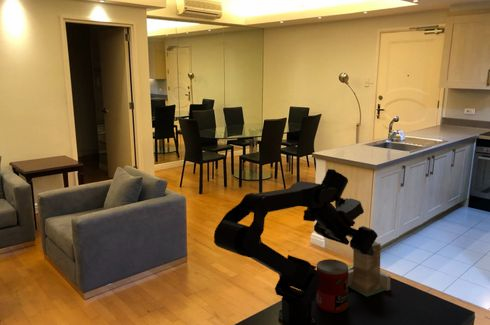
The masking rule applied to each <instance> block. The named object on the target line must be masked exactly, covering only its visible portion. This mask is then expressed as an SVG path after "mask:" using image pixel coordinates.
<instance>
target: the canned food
mask: <svg viewBox="0 0 490 325" xmlns="http://www.w3.org/2000/svg"><path fill="white" fill-rule="evenodd" d="M316 270H317V271H318V273H319V275H318V276H319V286H318V291H317V296H316V302H317V305H318V307H319V308H320V309H321V310H323V311H324V312H327V313H332V314H335V313H336V314H339V313H342V312H344V311H346V310H347V308H348V307H349V286H348V271H349V266H348V264H347V263H345V262H344V261H342V260H338V259H331V258H329V259H322V260H319V261H318V262H317V263H316Z"/></svg>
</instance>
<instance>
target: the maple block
mask: <svg viewBox="0 0 490 325" xmlns="http://www.w3.org/2000/svg"><path fill="white" fill-rule="evenodd" d="M372 247H373V250H374V254H373V256H370V255H366V254H364V255H363V254H360V253H358V252H356V251H354V250H353V249H352V251H353V254H352V255H353V256H352V258H353V260H352V263H353V265H352V267H353V268H352V269H353V286H354V287H356V288H357V289H359V290H361V291H363V292H365V293H369V292H372V291H375V290H377V289H380V271H381V249H382V247H381V243H379V242H376V240H375V241H374V243H373V244H372Z"/></svg>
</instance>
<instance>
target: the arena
mask: <svg viewBox="0 0 490 325" xmlns="http://www.w3.org/2000/svg"><path fill="white" fill-rule="evenodd" d="M348 288H351V289H352V290H354V291H356V292H358V293H359V294H361V295H363V296H365V297H367V298H368V297H370V296H372V295H376V294H378V293H381V292H384V291H390V290H391V275H389V274H387V273H385V272H382V271H381V270H380V289H377V290H375V291H372V292H369V293H365V292H363V291H361V290H359V289H357V288H356V287H354V286H353V268H351V269H348Z"/></svg>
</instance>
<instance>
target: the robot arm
mask: <svg viewBox="0 0 490 325" xmlns="http://www.w3.org/2000/svg"><path fill="white" fill-rule="evenodd" d="M348 183H349V179H348V177H347V176H345V175H344V174H342V173H340V172H337V171H336V169H332V168H328V169H327V170H326V173H325V174H324V177H323V179H322V181H321V183H316V182H310V181H303V180H301V181H298V182H294V183H292V184H291V186H290V187H288V188H284V189H276V190H269V191H263V192H256V193H255V192H250V193H247V194H245V195H244V196H243V198H242V199H241V201H240V202H239V203H238V204H237V205H235V206H234V207H232V208H231V209H230V210H228V211H227V212H226V213H225V214H224V216H223V218H222V219H221V220H220V221H219V223H218V224H217V226H216V228H215V229H214V235H213V239H214V240H213V243H214V245H215V246H216V247H218V248H220V249H223V250H226V251H228V252H231V253H234V254H236V255H240V256H242V257H245V258H250V259H251V260H253V261H256V262H257V263H259V264H261V265H262V266H264V267H266V268H267V269H270V270H271V271H273V272H274V273H276V274H278V277H279V279H278V281H277V283H276V285H275V287H274V291H275V294H276V295H277V296H280V297H281V314H280V315H278V320H280V321H281V322H282V323H283V324H285V325H312V323H313V324H315V323H316V322H315V319H314V318H312V316H313V312H312V311H313V308H312V306H313V303H312V302H314V301H315V300H317V291H318V286H319V276H318V275H319V273H318V271H317V265H316V266H315V265H313V264H311V263H310V262H309V261H308V260H305V259H302V258H299V257H296V256H293V255H290V254H288V255H287V256H284V255H283V254H281V253H280V252H278V251H276V250H275V249H273V248H272V247H270V246H269V245H267V244H266V243H264V242H263V241H262V234H263V233H264V230H265V219H266V216H267V215H268V213H272V212H276V211H277V212H278V211H282V210H287V209H291V208H296V207H303V208H306V209H304V210H303V216H302V217H303V221H306V222H315V224H314V225H313V231H314V232H315V233H316V234H317V235H319V236H321V237H323V238H325V239H328V240H330V241H333V242H337V243H340V244H342V245H346V246H348V245H349V247H350V248H351V249H352V251H353V250H354V251H356V252H358V253H360V254H363V255H364V254H366V255H370V256H373V254H374V250H373V247H372V244H373V243H374V241H375V242H376V240H377V238H378V236H379V235H378V234H377V232H376V231H375V230H374V229H372V228H370V227H367V226H364V225H363V226H359V227H358V228H357V229H356V228H354V225H355V224H356V222H355V221H354V220H356V219H357V218H358V217H360V216H361V215H363V214H364V213H365V210H364V208H363V205H362V203H361V202H362V201H361V200H357V199H354V198H344V197H342V196H343V193H344V191H345V189H346V187H347V185H348ZM332 203H334V204H332ZM251 213H252V214H253V218H252V222H251V223H250V225H245V224H243V223H240V222H241V221H242V220H244V219H245V218H246V217H248V216H249V214H251ZM348 237H349V238H351V239H350V240H349V239H348Z"/></svg>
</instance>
